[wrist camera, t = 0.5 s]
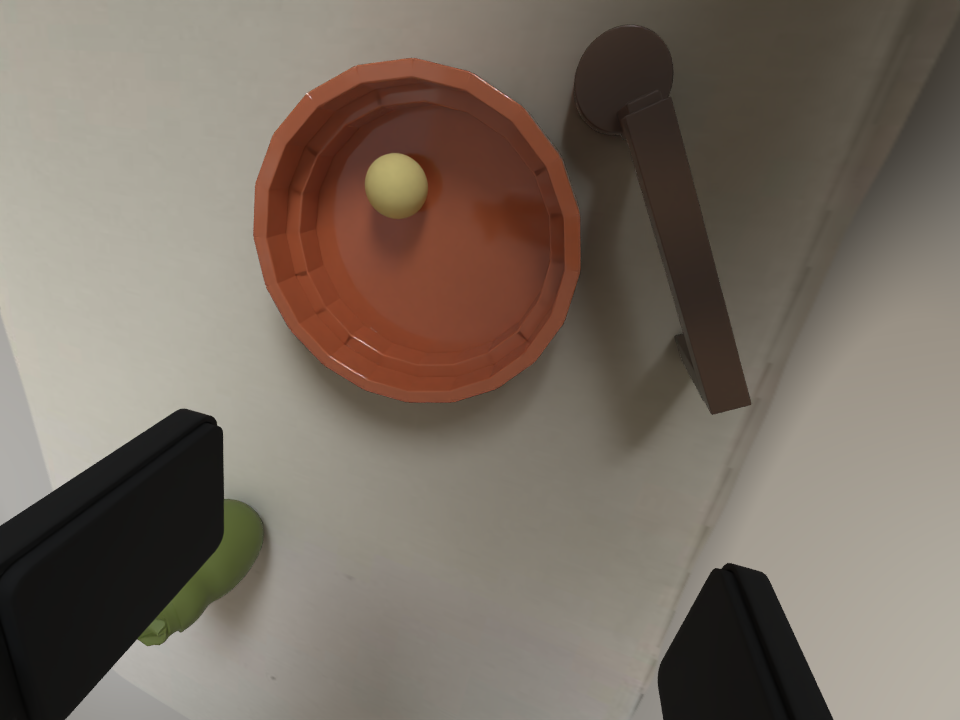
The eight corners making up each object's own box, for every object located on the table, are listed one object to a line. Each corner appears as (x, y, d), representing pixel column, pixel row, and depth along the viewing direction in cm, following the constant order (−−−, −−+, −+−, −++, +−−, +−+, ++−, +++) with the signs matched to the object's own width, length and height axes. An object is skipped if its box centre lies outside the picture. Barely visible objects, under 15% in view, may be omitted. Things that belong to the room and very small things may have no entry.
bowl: (513, 11, 22) (501, -19, 18) (618, 322, 27) (625, 350, 23) (247, 156, 27) (192, 156, 23) (375, 400, 31) (347, 435, 27)
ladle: (562, 61, 22) (559, 28, 17) (651, 17, 21) (681, -35, 16) (659, 368, 27) (683, 426, 21) (736, 345, 26) (784, 401, 20)
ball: (419, 142, 24) (400, 141, 22) (444, 201, 25) (428, 207, 23) (368, 168, 25) (343, 169, 23) (393, 224, 26) (372, 232, 23)
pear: (283, 547, 37) (191, 674, 28) (220, 541, 38) (111, 661, 29) (269, 486, 35) (164, 601, 26) (202, 480, 36) (79, 590, 27)
